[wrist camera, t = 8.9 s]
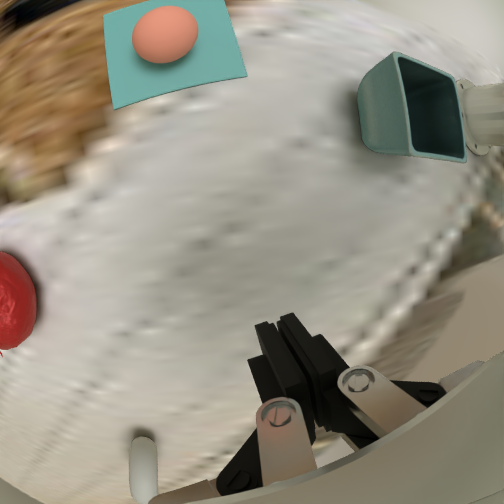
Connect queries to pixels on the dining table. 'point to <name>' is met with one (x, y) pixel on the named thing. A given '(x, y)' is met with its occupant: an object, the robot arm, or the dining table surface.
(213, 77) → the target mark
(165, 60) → the ball
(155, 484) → the donut
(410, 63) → the flower pot
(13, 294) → the pomegranate
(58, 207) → the dining table surface
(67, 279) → the dining table surface
